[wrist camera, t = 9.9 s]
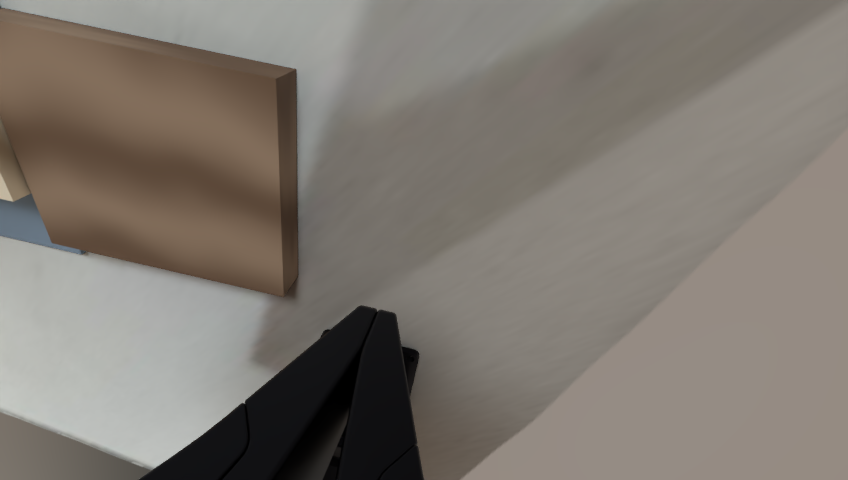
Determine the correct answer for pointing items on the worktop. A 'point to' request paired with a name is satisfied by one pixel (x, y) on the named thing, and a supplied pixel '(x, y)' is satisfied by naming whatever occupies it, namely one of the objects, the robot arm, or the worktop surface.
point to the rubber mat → (26, 223)
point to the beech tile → (10, 171)
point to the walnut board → (155, 149)
